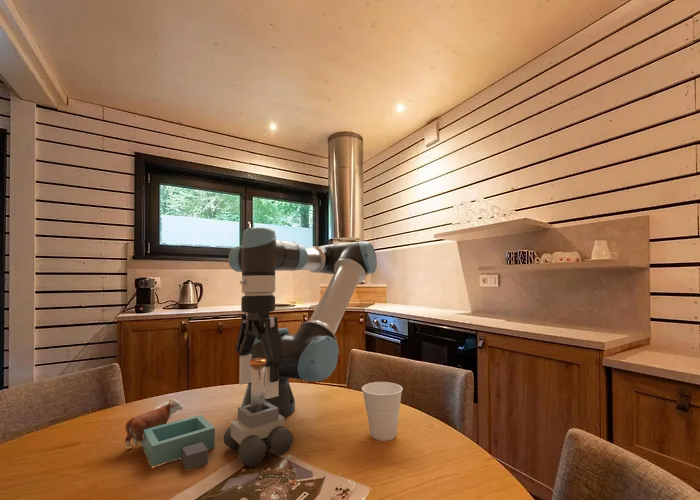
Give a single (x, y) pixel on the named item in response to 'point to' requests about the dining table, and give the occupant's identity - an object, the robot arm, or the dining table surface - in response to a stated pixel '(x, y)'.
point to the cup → (382, 408)
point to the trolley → (258, 434)
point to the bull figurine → (150, 421)
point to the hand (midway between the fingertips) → (257, 389)
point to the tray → (176, 438)
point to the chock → (194, 455)
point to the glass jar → (257, 384)
